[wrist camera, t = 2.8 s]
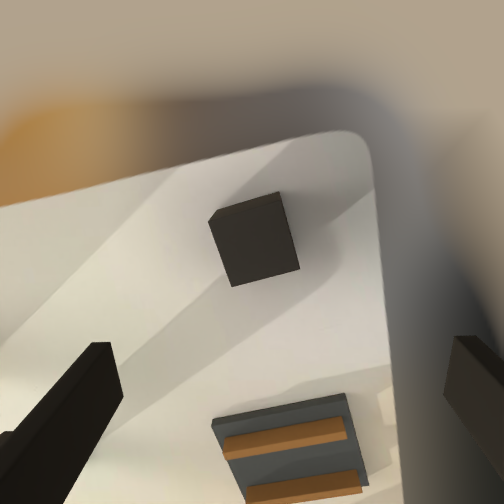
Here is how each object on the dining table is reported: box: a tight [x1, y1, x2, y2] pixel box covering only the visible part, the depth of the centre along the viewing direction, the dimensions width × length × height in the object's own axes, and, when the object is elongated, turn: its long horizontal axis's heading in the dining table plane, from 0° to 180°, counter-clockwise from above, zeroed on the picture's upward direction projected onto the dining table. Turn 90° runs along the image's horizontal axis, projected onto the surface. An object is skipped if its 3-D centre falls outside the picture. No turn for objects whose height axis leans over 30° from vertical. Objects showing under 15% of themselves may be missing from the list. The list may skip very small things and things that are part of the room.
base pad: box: [211, 394, 369, 504], centre depth 37 cm, size 16×14×3 cm
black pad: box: [208, 191, 300, 287], centre depth 27 cm, size 6×6×4 cm
